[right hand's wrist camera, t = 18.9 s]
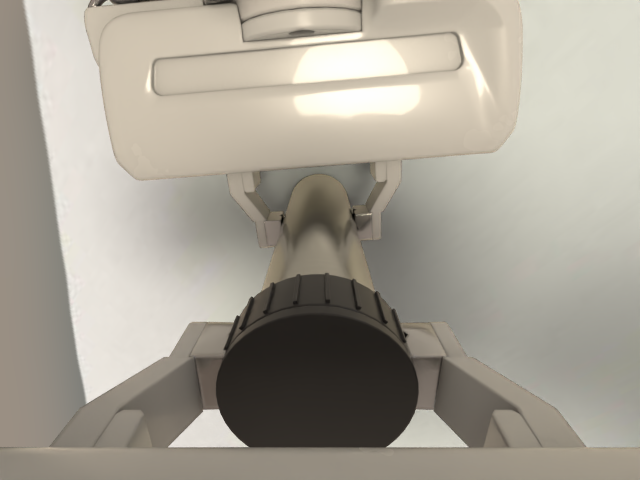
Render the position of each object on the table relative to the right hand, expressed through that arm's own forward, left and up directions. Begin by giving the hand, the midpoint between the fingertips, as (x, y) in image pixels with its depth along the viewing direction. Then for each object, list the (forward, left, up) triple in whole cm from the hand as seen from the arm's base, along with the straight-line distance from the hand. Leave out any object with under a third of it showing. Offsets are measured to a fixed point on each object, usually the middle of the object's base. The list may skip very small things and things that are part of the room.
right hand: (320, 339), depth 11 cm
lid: (0, 0, +2) cm, 2 cm away
